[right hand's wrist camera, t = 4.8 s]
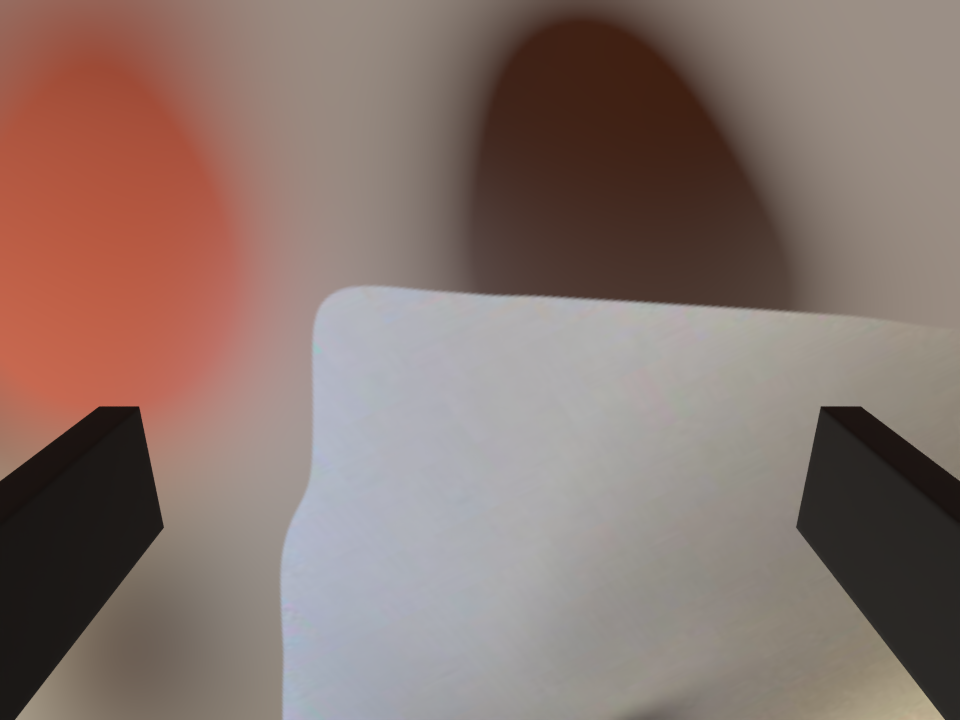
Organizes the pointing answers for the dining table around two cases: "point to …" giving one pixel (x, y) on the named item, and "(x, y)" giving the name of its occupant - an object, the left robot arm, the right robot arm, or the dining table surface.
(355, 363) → the dining table surface
